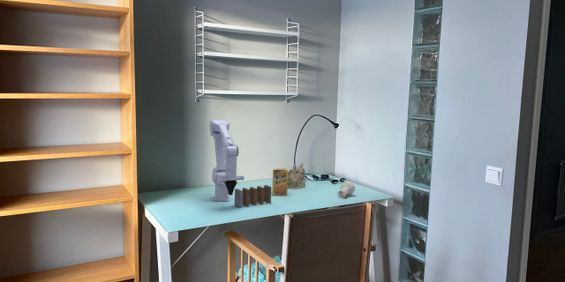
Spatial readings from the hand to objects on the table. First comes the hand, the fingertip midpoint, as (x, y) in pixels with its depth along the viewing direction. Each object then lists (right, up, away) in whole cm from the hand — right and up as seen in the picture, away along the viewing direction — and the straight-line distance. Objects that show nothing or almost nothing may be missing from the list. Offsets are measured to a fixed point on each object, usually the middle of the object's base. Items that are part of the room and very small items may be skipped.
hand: (230, 194), depth 217 cm
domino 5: (+18, -6, +14) cm, 24 cm away
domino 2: (+7, -6, +6) cm, 11 cm away
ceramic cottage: (+33, -1, +53) cm, 63 cm away
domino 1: (+4, -7, +4) cm, 8 cm away
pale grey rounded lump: (+64, -5, +32) cm, 72 cm away
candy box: (+25, -4, +30) cm, 39 cm away
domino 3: (+11, -6, +9) cm, 15 cm away
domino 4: (+15, -6, +11) cm, 19 cm away
